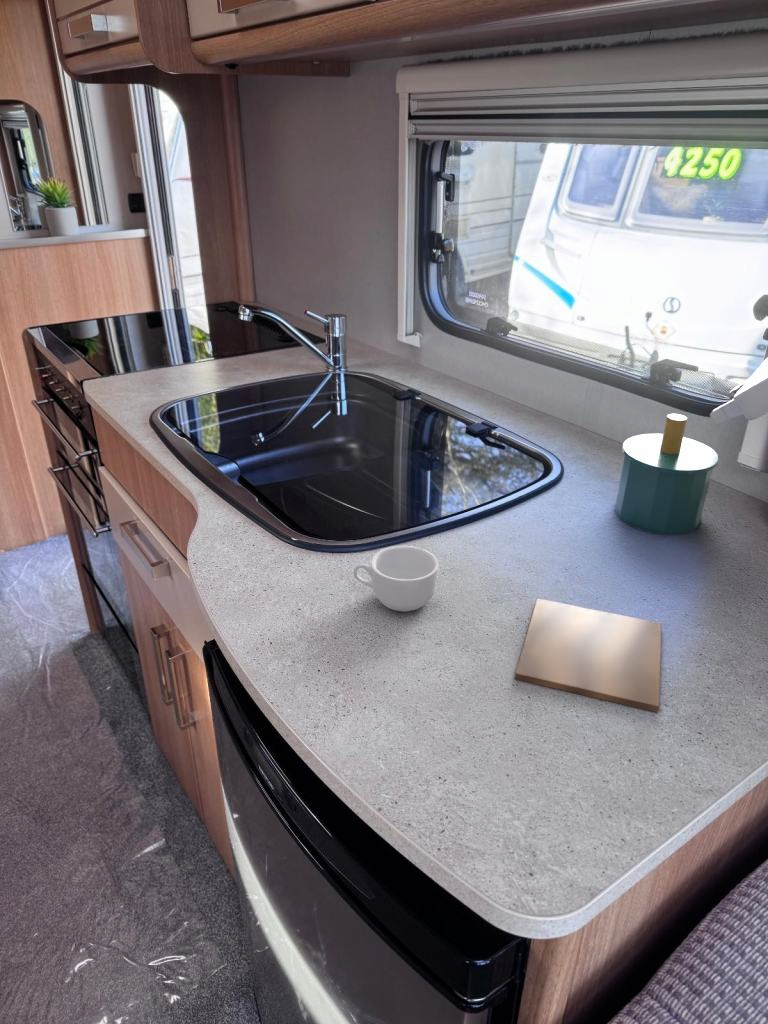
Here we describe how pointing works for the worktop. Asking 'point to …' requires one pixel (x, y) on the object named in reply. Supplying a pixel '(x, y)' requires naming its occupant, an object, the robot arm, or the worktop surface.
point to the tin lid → (671, 450)
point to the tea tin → (660, 499)
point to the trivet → (593, 654)
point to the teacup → (401, 577)
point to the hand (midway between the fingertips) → (723, 407)
